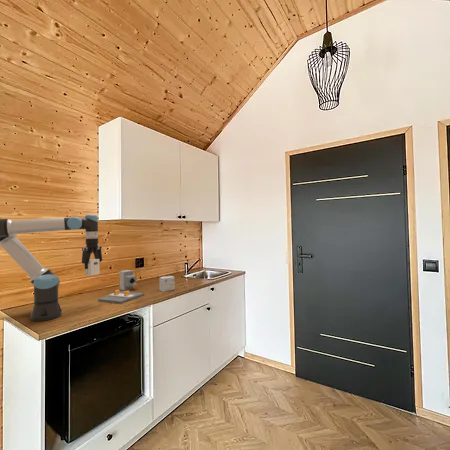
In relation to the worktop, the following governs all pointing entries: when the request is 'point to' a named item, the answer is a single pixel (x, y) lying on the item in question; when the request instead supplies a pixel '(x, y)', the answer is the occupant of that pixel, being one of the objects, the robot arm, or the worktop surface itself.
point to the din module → (93, 267)
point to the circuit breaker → (127, 280)
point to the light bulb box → (166, 283)
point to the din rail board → (120, 297)
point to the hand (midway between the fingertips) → (92, 272)
